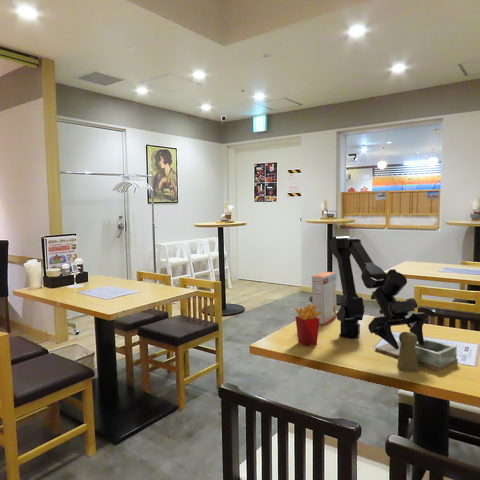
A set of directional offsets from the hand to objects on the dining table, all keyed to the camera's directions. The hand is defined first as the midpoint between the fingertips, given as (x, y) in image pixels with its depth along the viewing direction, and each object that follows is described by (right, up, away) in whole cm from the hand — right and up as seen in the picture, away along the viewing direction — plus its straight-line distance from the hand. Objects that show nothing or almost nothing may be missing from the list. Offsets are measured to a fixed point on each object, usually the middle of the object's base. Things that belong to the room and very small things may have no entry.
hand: (410, 347), depth 121 cm
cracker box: (-15, -3, +55) cm, 57 cm away
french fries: (-26, -6, +25) cm, 36 cm away
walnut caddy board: (+6, -6, +11) cm, 14 cm away
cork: (0, -7, +2) cm, 7 cm away
